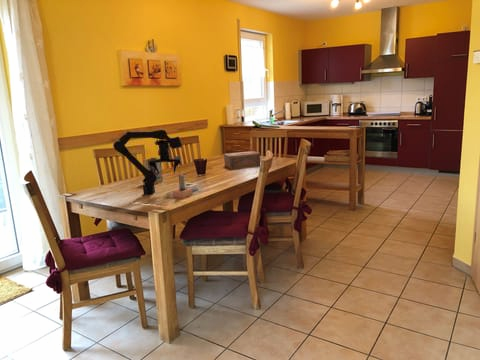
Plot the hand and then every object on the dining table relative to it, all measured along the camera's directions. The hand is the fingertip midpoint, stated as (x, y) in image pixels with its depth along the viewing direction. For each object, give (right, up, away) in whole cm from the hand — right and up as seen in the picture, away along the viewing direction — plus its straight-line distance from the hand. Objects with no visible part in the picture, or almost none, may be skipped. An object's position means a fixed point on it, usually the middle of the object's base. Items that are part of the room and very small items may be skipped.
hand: (166, 173), depth 239 cm
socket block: (+14, -10, -4) cm, 18 cm away
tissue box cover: (+47, +7, +75) cm, 89 cm away
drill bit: (+12, -13, -15) cm, 23 cm away
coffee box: (-14, -6, +30) cm, 33 cm away
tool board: (+13, -13, -10) cm, 21 cm away
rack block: (+12, -13, -15) cm, 23 cm away
